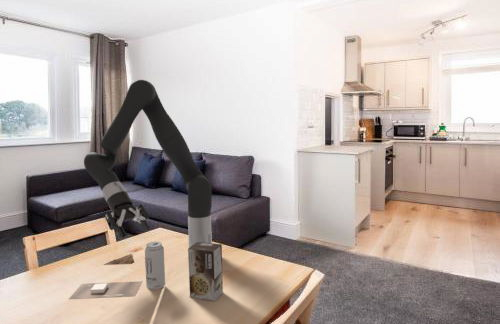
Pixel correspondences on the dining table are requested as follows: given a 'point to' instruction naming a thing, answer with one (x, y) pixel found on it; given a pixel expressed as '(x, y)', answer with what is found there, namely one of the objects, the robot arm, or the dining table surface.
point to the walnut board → (108, 290)
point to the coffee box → (205, 270)
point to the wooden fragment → (122, 260)
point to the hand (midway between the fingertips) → (136, 234)
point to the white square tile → (99, 288)
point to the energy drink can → (154, 265)
